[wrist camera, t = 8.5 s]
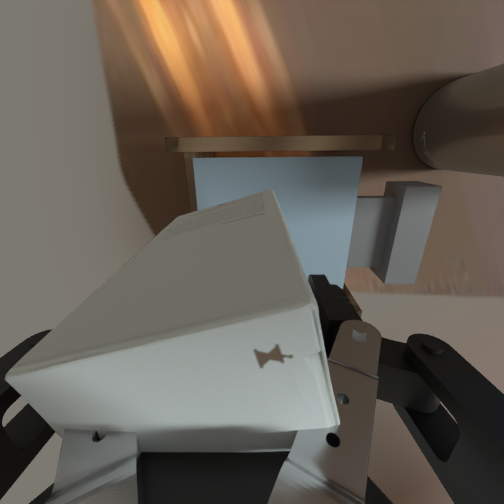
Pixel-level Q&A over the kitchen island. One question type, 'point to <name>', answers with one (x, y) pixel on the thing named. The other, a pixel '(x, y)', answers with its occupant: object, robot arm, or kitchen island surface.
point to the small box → (193, 342)
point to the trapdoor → (331, 211)
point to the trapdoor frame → (210, 145)
